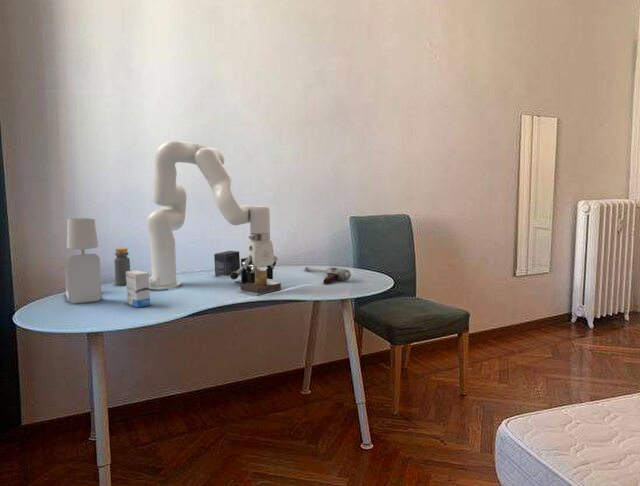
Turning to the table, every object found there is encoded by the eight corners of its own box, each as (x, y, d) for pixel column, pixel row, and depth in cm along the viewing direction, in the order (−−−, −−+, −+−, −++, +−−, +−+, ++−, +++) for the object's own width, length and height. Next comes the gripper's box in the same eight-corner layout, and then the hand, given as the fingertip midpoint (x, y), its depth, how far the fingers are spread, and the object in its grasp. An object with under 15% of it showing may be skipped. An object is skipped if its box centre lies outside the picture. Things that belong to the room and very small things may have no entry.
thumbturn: (267, 284, 207) (266, 269, 206) (263, 284, 205) (263, 270, 205) (258, 282, 210) (258, 268, 209) (254, 283, 209) (254, 268, 208)
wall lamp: (96, 291, 207) (92, 214, 203) (103, 302, 189) (99, 219, 185) (65, 294, 201) (61, 215, 198) (70, 306, 183) (65, 220, 180)
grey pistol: (287, 280, 246) (310, 272, 254) (330, 288, 218) (355, 279, 226) (285, 270, 245) (309, 262, 253) (328, 277, 218) (353, 268, 225)
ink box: (150, 305, 185) (149, 272, 184) (136, 308, 181) (135, 274, 180) (140, 301, 191) (139, 269, 190) (126, 303, 187) (125, 271, 186)
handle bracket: (247, 287, 215) (246, 260, 214) (234, 284, 220) (234, 258, 219) (263, 283, 222) (263, 258, 221) (251, 280, 227) (250, 256, 226)
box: (229, 272, 246) (228, 250, 245) (240, 273, 243) (240, 251, 242) (214, 276, 236) (213, 253, 235) (225, 277, 234) (225, 254, 232)
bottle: (115, 283, 222) (114, 247, 220) (130, 282, 224) (129, 247, 222) (115, 285, 216) (113, 249, 215) (130, 284, 218) (128, 249, 217)
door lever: (235, 281, 214) (232, 275, 212) (230, 280, 216) (227, 274, 214) (255, 264, 221) (252, 258, 220) (250, 263, 223) (247, 257, 222)
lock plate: (257, 295, 200) (257, 287, 200) (240, 291, 207) (240, 284, 206) (280, 290, 210) (280, 282, 209) (263, 286, 216) (263, 279, 215)
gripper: (249, 240, 197) (249, 285, 199) (283, 236, 210) (283, 278, 212) (236, 238, 201) (237, 283, 203) (270, 234, 215) (270, 276, 217)
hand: (260, 280), depth 208 cm, fingers open, 8 cm apart
